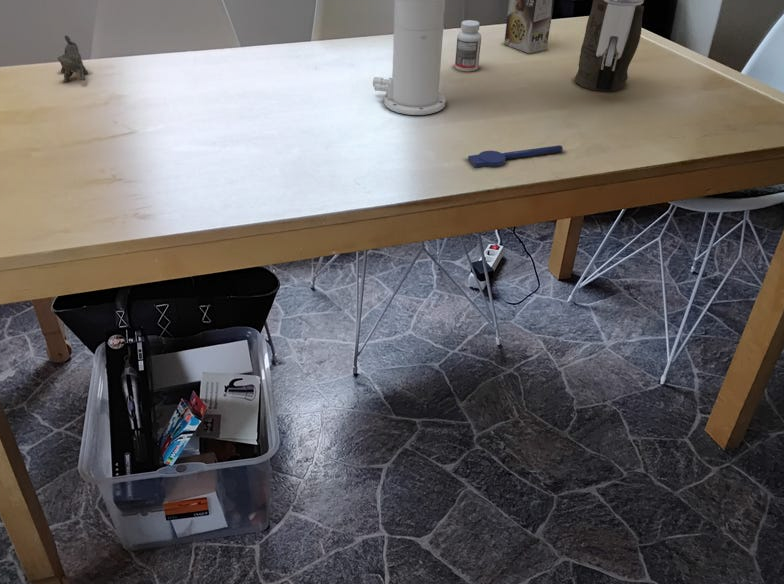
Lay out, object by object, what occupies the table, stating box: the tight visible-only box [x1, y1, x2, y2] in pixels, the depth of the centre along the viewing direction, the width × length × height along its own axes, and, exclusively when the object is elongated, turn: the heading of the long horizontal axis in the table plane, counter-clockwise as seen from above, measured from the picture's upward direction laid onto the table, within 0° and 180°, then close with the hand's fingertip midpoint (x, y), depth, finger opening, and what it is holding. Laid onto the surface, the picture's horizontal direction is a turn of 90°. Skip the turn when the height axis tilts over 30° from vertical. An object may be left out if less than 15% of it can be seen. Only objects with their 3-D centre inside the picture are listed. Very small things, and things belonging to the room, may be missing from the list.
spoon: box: [467, 144, 564, 168], centre depth 130 cm, size 18×5×1 cm, turn 108°
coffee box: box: [503, 0, 555, 54], centre depth 173 cm, size 9×6×16 cm
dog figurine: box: [57, 34, 89, 83], centre depth 156 cm, size 12×6×7 cm, turn 16°
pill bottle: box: [454, 19, 482, 72], centre depth 163 cm, size 5×5×10 cm
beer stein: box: [574, 0, 645, 92], centre depth 152 cm, size 15×11×20 cm
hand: (603, 88), depth 151 cm, fingers closed
